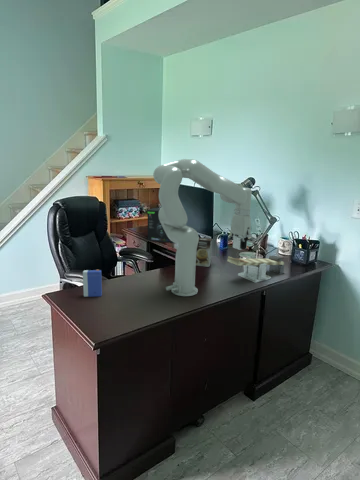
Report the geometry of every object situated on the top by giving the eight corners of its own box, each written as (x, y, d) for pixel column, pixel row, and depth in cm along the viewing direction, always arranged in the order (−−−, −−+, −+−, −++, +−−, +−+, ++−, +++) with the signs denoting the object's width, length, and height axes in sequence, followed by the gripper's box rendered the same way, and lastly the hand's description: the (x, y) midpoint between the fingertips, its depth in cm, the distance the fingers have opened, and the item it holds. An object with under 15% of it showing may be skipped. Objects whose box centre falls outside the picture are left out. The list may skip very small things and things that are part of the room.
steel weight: (239, 249, 170) (240, 238, 169) (232, 247, 174) (233, 236, 173) (246, 248, 173) (247, 237, 172) (239, 246, 177) (240, 235, 176)
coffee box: (194, 265, 201) (195, 239, 198) (196, 262, 207) (197, 236, 204) (209, 267, 199) (210, 240, 195) (210, 264, 205) (212, 238, 202)
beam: (237, 267, 170) (239, 258, 169) (226, 262, 176) (228, 254, 176) (283, 266, 191) (285, 258, 190) (272, 262, 197) (273, 255, 196)
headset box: (146, 240, 258) (147, 207, 252) (152, 237, 269) (153, 205, 263) (175, 243, 252) (175, 209, 246) (179, 240, 263) (180, 207, 257)
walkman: (102, 294, 156) (101, 269, 153) (101, 296, 153) (100, 271, 150) (84, 294, 155) (83, 269, 152) (83, 296, 152) (82, 271, 149)
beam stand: (255, 282, 176) (256, 266, 174) (237, 275, 187) (238, 259, 184) (287, 274, 190) (288, 259, 188) (269, 268, 201) (270, 253, 198)
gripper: (225, 210, 174) (223, 244, 178) (249, 215, 160) (246, 252, 165) (236, 209, 178) (233, 243, 182) (260, 214, 164) (256, 250, 169)
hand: (239, 247), depth 173 cm, fingers closed on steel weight, 5 cm apart
